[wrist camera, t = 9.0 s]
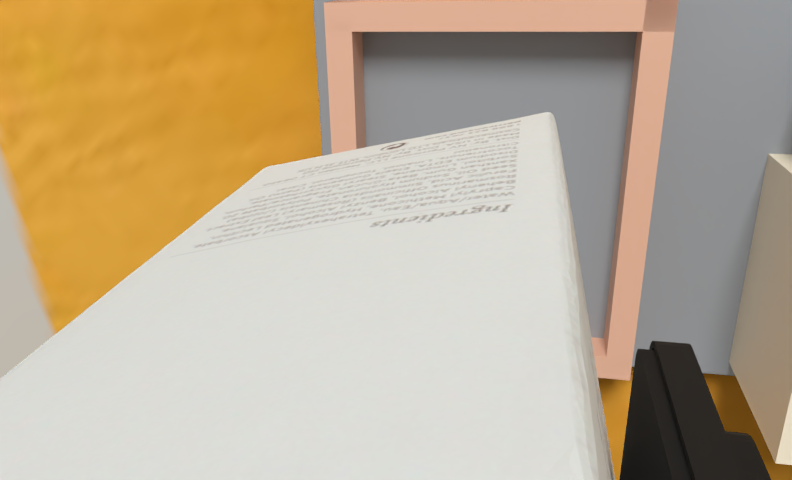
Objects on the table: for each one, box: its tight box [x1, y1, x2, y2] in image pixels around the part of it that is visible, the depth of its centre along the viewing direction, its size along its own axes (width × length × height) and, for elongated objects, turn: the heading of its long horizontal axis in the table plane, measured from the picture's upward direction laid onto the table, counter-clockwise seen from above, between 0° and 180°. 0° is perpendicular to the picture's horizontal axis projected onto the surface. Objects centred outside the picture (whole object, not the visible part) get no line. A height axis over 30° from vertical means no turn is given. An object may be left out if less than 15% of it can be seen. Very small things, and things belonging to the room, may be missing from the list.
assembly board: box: [313, 0, 792, 465], centre depth 19 cm, size 18×12×6 cm, turn 91°
